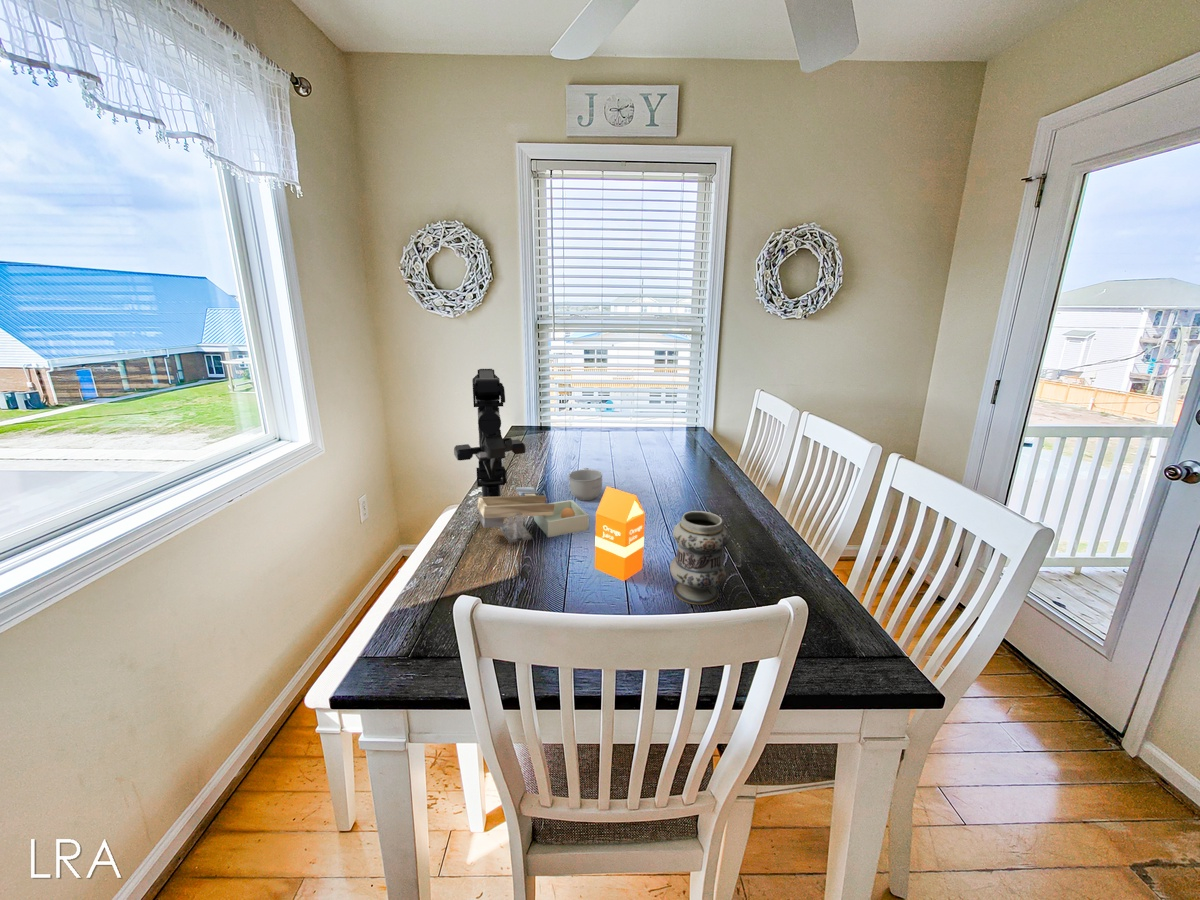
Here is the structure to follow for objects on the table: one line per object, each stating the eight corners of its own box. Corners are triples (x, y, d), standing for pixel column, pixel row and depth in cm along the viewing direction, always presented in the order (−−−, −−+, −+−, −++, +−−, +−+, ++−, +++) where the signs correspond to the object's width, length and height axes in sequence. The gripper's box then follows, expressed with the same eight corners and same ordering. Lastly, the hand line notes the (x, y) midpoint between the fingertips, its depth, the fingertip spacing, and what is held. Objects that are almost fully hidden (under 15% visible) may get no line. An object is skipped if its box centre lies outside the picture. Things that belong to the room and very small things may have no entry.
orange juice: (614, 556, 125) (616, 482, 119) (642, 568, 120) (646, 491, 114) (594, 568, 119) (595, 490, 113) (623, 581, 114) (626, 500, 108)
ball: (569, 519, 145) (557, 517, 143) (573, 506, 144) (560, 504, 142) (574, 524, 141) (562, 523, 140) (578, 511, 141) (565, 510, 139)
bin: (534, 520, 144) (533, 505, 143) (572, 513, 149) (572, 499, 148) (548, 537, 134) (547, 522, 133) (588, 529, 139) (588, 515, 138)
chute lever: (469, 504, 142) (470, 484, 141) (532, 502, 151) (534, 484, 150) (482, 528, 128) (484, 507, 126) (551, 525, 136) (554, 504, 135)
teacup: (598, 504, 156) (598, 481, 154) (564, 501, 158) (564, 477, 156) (606, 489, 170) (606, 467, 167) (575, 486, 172) (575, 464, 169)
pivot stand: (499, 527, 139) (498, 502, 137) (520, 523, 142) (519, 499, 140) (509, 543, 130) (508, 516, 128) (531, 538, 133) (530, 513, 131)
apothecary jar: (715, 578, 116) (722, 507, 111) (730, 608, 105) (739, 530, 99) (664, 577, 116) (669, 506, 111) (673, 608, 104) (679, 530, 99)
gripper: (459, 435, 124) (463, 493, 129) (531, 428, 132) (532, 483, 137) (452, 425, 134) (455, 479, 138) (519, 419, 142) (520, 471, 146)
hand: (491, 478), depth 140 cm, fingers closed
